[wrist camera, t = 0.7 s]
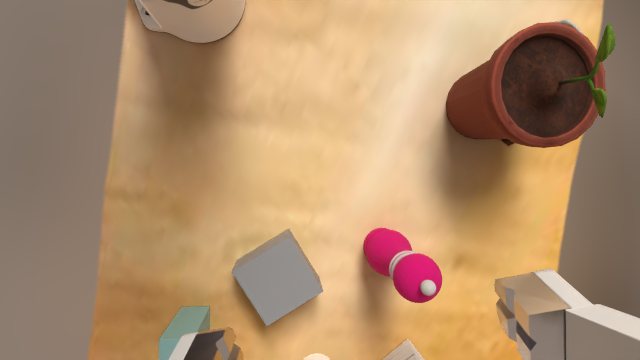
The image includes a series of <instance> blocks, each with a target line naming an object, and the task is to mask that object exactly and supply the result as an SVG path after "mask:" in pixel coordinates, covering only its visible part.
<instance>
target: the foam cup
mask: <svg viewBox="0 0 640 360" xmlns="http://www.w3.org/2000/svg"><path fill="white" fill-rule="evenodd" d="M303 360H330V359H329V358H328V357H327V356H325V355H322V354H311V355H309V356H307V357H305V358H304V359H303Z"/></svg>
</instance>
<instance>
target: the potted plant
mask: <svg viewBox="0 0 640 360" xmlns="http://www.w3.org/2000/svg"><path fill="white" fill-rule="evenodd" d="M614 46H615V36H614V33H613V30H612V28H611V24H610V23H609V25H607V26H606V29H605V32H604V35H603V37H602V40H601V43H600V46H599V49H598V51H597V50H596V49H595V47H594V46H593V44H592V43H591V42H590V40H589V39H588V38H587V37H586V36H584V34H583V33H582V32H581V31H580V30H579V28H578V27H577V26H576V25H575V24H573V23H572V22H570V21H568V20H566V19H564V20H560V21H556V22H551V23H537V24H535V25H533V26H530V27H528V28H526V29H523V30H521V31H519V32H518V33H517V34H515V35H514V36H513V37H511V38H510V39H508V40H507V41H506V42H505V43H504V44H503V45H502V46H500V47H499V48H498V49H497V50H496V51H495V52H494V54H493V55H492V57H491V59H490V60H489V61H487V62H485V63H484V64H482V65H480V66H479V67H477V68H475V69H474V70H472V71H470V72H469V73H467V74H465V75H464V76H462V77H461V78H460V79H459V80H457V81H456V82H455V83H454V84H453V86H452V88H451V89H450V91H449V93H448V97H447V101H446V109H447V116H448V118H449V121H450V123H451V125H452V126H453V127H454V128H455V130H456V131H457V132H459V133H460V134H462V135H463V136H465V137H469V138H473V139H501V140H502V141H503V142H504V143H506V144H507V145H511V144H513V143H517V144H521V145H525V146H530V147H542V148H546V147H555V146H562V145H564V144H567V143H569V142H571V141H573V140H575V139H577V138H579V137H580V136H581V135H582V134H583V133H584V132H585V131H586V130H587V129H588V128H589V127H590V126H591V125H592V124H593V122H594V120H595V118H596V117H597V115H598V113H599V116H601V117H603V115H604V111H605V108H606V102H607V101H606V100H607V98H606V93H605V71H604V68H603V65H602V61H604V60H605V59H606V58H607V56H608V55H609V54H610V53H611V52H612V51H613V49H614Z"/></svg>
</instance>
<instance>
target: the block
mask: <svg viewBox="0 0 640 360" xmlns="http://www.w3.org/2000/svg"><path fill="white" fill-rule="evenodd" d="M207 330H210V306H195V307H181V309H180V310H179V312H178V313H177V314H176V316H175V317H174V319H173V320H172V322H171V323H170V324H169V326H168V327H167V329H166V330H165V332H164V333H163V334H162V336H161V337H160V339H159V360H169V358H170V356H171V354H172V353H173V351H174V349H175V347H176V346H177V344H178V342H179V340H180V338H181V337H182V336H183V335H185V334H189V333H195V332H200V331H207Z"/></svg>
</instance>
